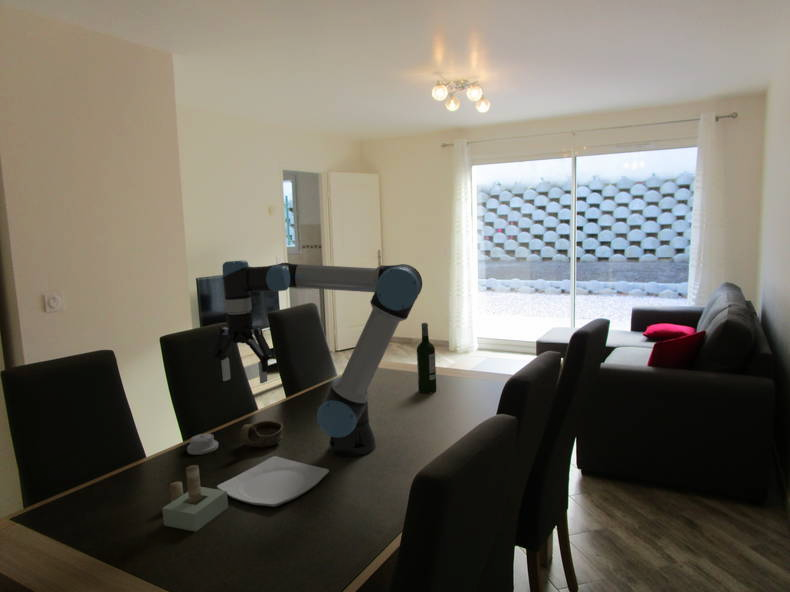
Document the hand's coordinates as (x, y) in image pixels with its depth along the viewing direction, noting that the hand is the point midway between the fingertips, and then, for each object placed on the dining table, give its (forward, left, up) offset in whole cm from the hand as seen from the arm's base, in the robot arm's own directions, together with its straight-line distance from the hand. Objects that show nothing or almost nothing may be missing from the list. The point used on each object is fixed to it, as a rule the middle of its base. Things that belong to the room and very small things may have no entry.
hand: (245, 381), depth 163 cm
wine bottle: (-30, -85, -27) cm, 94 cm away
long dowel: (-5, +30, -27) cm, 40 cm away
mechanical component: (+25, -6, -27) cm, 37 cm away
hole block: (-5, +30, -27) cm, 40 cm away
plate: (-15, +10, -27) cm, 33 cm away
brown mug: (+6, -13, -27) cm, 31 cm away
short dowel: (+4, +27, -27) cm, 38 cm away
